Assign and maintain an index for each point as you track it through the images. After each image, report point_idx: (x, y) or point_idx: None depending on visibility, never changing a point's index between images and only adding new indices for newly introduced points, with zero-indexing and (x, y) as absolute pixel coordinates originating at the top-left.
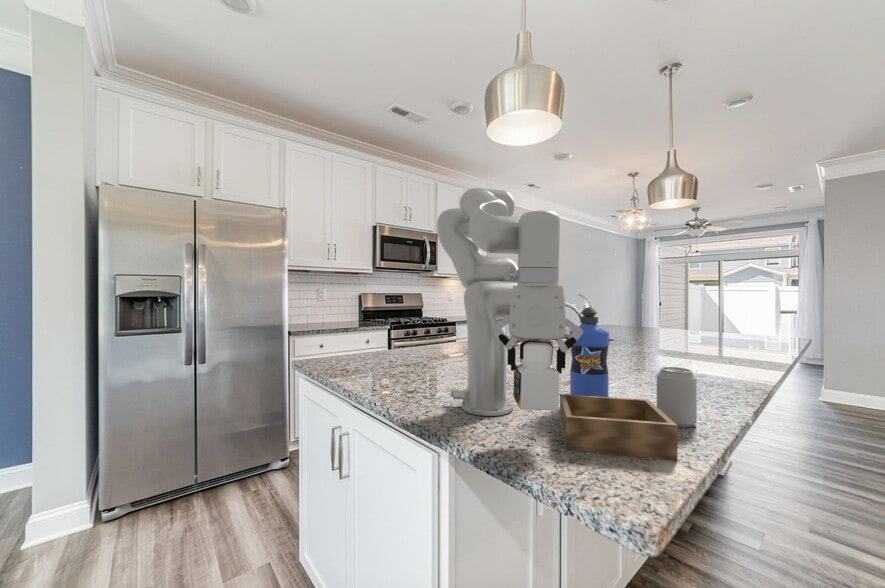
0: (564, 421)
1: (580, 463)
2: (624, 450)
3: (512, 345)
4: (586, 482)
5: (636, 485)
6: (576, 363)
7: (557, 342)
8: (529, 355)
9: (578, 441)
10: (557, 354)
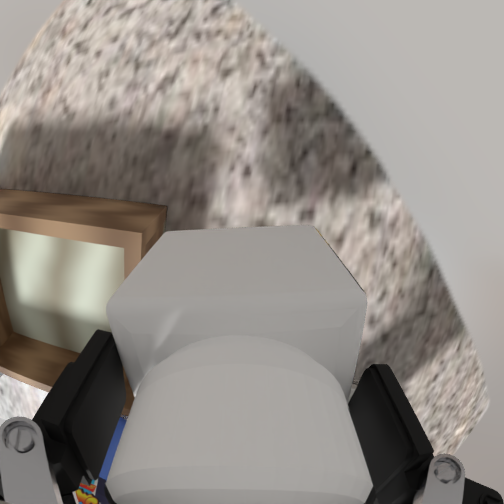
0: None
1: (151, 132)
2: (48, 196)
3: (433, 479)
4: (165, 45)
5: (76, 58)
6: (104, 499)
7: (47, 499)
8: (322, 410)
9: (132, 209)
10: (86, 436)
